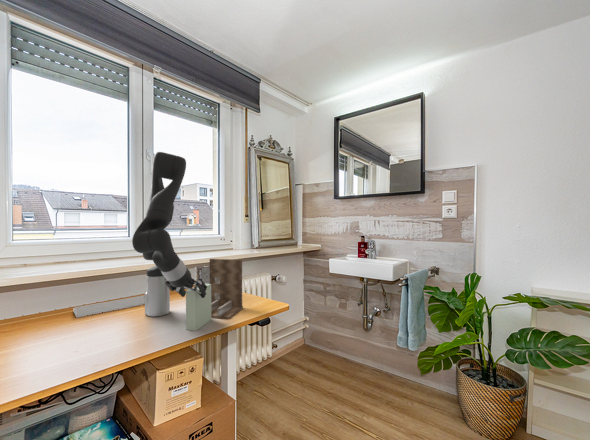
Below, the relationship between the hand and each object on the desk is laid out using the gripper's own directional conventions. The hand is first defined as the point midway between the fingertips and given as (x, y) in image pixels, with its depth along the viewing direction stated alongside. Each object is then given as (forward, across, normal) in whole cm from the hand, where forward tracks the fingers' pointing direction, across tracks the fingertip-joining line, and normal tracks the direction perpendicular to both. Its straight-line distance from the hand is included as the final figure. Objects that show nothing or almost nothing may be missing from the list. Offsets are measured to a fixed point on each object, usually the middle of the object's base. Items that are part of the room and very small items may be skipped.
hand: (194, 295), depth 110 cm
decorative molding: (+21, +51, -2) cm, 55 cm away
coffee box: (+38, +20, -20) cm, 48 cm away
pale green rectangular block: (+12, 0, +6) cm, 13 cm away
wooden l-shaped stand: (+22, -1, -5) cm, 23 cm away
